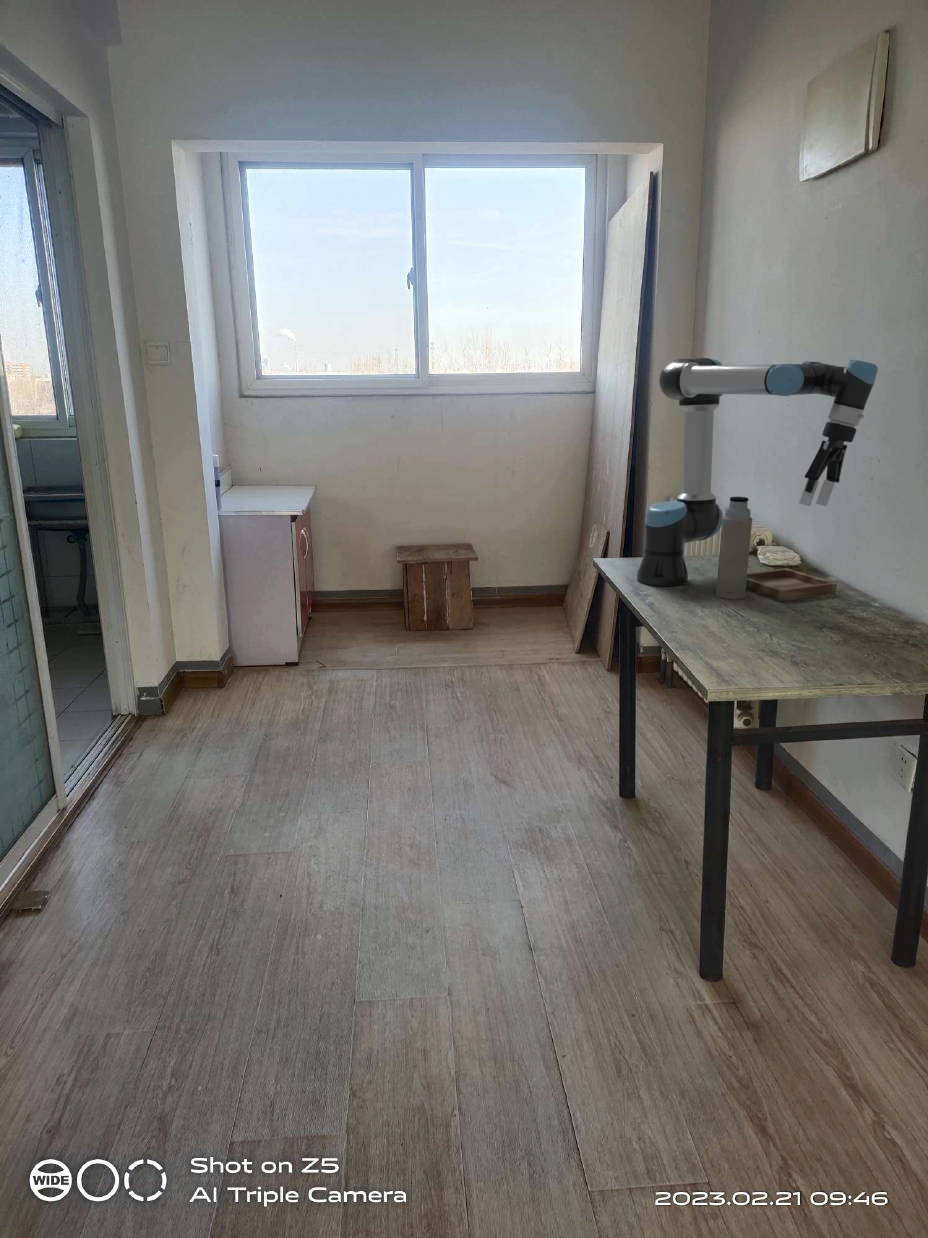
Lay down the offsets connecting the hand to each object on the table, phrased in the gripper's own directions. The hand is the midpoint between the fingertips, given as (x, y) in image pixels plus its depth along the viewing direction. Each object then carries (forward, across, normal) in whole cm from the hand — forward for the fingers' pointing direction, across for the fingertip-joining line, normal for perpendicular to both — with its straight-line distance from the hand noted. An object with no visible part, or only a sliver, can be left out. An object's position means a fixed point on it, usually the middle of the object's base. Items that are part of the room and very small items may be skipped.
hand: (812, 505), depth 219 cm
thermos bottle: (+31, +3, +14) cm, 34 cm away
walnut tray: (+27, +18, +5) cm, 33 cm away
